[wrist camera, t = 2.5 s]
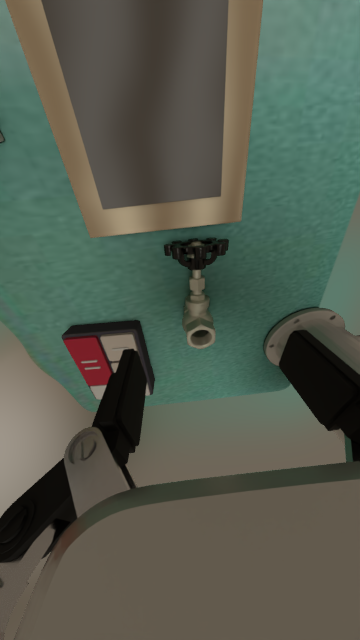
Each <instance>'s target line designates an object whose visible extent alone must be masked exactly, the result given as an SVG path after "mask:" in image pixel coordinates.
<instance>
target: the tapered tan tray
mask: <svg viewBox="0 0 360 640" xmlns="http://www.w3.org/2000/svg"><path fill="white" fill-rule="evenodd" d="M5 1H6V4H7V7H8V10H9V12H10V15H11V18H12V21H13V23H14V26H15V29H16V32H17V35H18V37H19V40H20V43H21V46H22V49H23V51H24V54H25V57H26V60H27V62H28V65H29V68H30V71H31V74H32V76H33V79H34V82H35V85H36V87H37V90H38V93H39V96H40V99H41V101H42V104H43V107H44V110H45V113H46V115H47V118H48V121H49V124H50V126H51V129H52V132H53V135H54V138H55V140H56V143H57V146H58V149H59V151H60V154H61V157H62V160H63V163H64V165H65V168H66V171H67V174H68V177H69V179H70V182H71V185H72V188H73V190H74V193H75V196H76V199H77V202H78V204H79V207H80V210H81V213H82V216H83V218H84V221H85V224H86V227H87V229H88V232H89V235H90V238H94V237H104V236H113V235H122V234H131V233H140V232H149V231H158V230H167V229H176V228H186V227H195V226H204V225H213V224H222V223H231V222H240V221H241V216H242V206H243V196H244V186H245V176H246V166H247V156H248V146H249V136H250V126H251V116H252V106H253V96H254V86H255V76H256V66H257V56H258V46H259V36H260V26H261V16H262V6H263V0H5Z"/></svg>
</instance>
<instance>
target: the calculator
mask: <svg viewBox="0 0 360 640" xmlns="http://www.w3.org/2000/svg"><path fill="white" fill-rule="evenodd" d="M62 339H63V341H64V343H65V345H66V347H67V349H68V351H69V352H70V354H71V356H72V358H73V359H74V361H75V363H76V365H77V367H78V368H79V370H80V372H81V374H82V376H83V377H84V379H85V381H86V383H87V384H88V386H89V387H90V389H91V391H92V393H93V395H94V396H95V398H96V399H102V397H103V394H104V391H105V388H106V386H107V383H108V380H109V377H110V375H111V374H112V373H115V372H116V370H117V367H118V364H119V361H120V358H121V355H122V352H123V350H124V349H134V350H135V351H138V354H139V357H140V360H141V363H142V366H143V369H144V372H145V375H146V378H147V386H146V394H145V395H152V394H153V389H154V381H155V378H154V374H153V370H152V367H151V364H150V360H149V356H148V352H147V347H146V343H145V339H144V335H143V332H142V328H141V324H140V321H138V320H134V321H122V322H110V323H98V324H86V325H75V326H71V327H70V328H69V329H68V330H67V331H66V332H65V333H64V334H63V335H62Z"/></svg>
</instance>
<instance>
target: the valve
mask: <svg viewBox="0 0 360 640" xmlns="http://www.w3.org/2000/svg"><path fill="white" fill-rule="evenodd" d="M228 243H229V240H228V239H219V240H218V241H216V238H207V239H206V240H198V239H197V238H193V239H189V240H188V241H186V242H182V241H173V242H172V244H165V245H164V251H165V255H166V256H171V251H172V257H173V259H178V261H179V263H180V264H181V265H182V266H185V267H188V269H189V270H192V276H190V277H189V283H190V290H192V292H190V295H188V296H187V297H186V298H185V306H184V316H183V319H182V326H183V329H184V331H185V332H186V334H187V343H188V345H190V346H192V347H194V348H198V349H203V348H206V347H208V346H210V345H211V344H213V343H214V342H215V328H214V325H213V317H212V315H211V314H210V312H209V311H208V309H207V308H208V307H209V297H208V296H207V295H205V294H204V292H203V291H202V290H203V289H205V278H204V276H203V275H201V270H202V269H204V268H205V267H206V265H210V264H212V263H213V262H214V261H215V260H216V258H217V256H221V255H225V254H226V251H227V250H228ZM209 252H211V258H210V259H206V253H209ZM184 254H187V261H185V260H184Z"/></svg>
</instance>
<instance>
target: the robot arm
mask: <svg viewBox="0 0 360 640" xmlns="http://www.w3.org/2000/svg"><path fill="white" fill-rule="evenodd" d="M264 352H265V355H266V356H267V358H268V359H269V360H270V362H272V363H273V364H275V365H277V366H279V367H280V369H281V370H282V372H283V373H284V374H285V376H286V377H287V378H288V380H289V381H290V383H291V384H292V385H293V387H294V388H295V389H296V391H297V392H298V393H299V395H300V396H301V398H302V399H303V400H304V402H305V403H306V404H307V406H308V407H309V409H310V410H311V411H312V413H313V414H314V416H315V417H316V418H317V419H318V421H319V422H320V423H321V424H323V425H324V426H325V427H326V429H327V430H328V431H332V430H333V431H334V432H335V433H336V435H337V436H338V437H339V439H340V440H341V441H342V443H343V444H344V445H345V452H346V463H337V464H327V465H318V466H309V467H299V468H291V469H281V470H272V471H264V472H255V473H246V474H237V475H229V476H220V477H211V478H203V479H194V480H185V481H178V482H171V483H163V484H156V485H149V486H145V487H139V488H138V486H137V484H136V482H135V480H134V478H133V476H132V474H131V472H130V470H129V468H128V467H127V464H126V463H127V462H128V457H129V453H134V452H135V446H138V445H139V441H140V433H141V426H142V418H143V410H144V402H145V394H146V386H147V378H146V375H145V372H144V369H143V366H142V363H141V360H140V357H139V354H138V351H135V350H134V349H124V350H123V352H122V355H121V358H120V361H119V364H118V367H117V370H116V372H115V373H112V374H111V375H110V377H109V380H108V383H107V386H106V388H105V391H104V394H103V397H102V399H101V402H100V405H99V408H98V410H97V413H96V416H95V419H94V422H93V425H92V427H88V428H85V429H83V430H82V431H80V432H79V433H78V434H77V435H75V436H74V437H73V439H72V440H71V441H70V443H69V444H68V446H67V449H66V451H65V454H64V458H63V459H62V460H61V461H60V462H58V463H57V464H56V465H55V466H54V467H53V468H52V469H51V470H50V471H49V472H47V473H46V474H45V475H44V476H43V477H42V478H41V479H39V480H38V481H37V482H36V483H35V484H34V485H33V486H32V487H31V488H30V489H28V490H27V491H26V492H25V493H24V494H23V495H22V496H21V497H19V498H18V499H17V500H16V501H15V502H14V503H13V504H12V505H11V506H10V507H9V508H8V509H7V510H6V511H5V512H4V514H3V515H2V516H1V518H0V640H4V634H5V629H6V626H7V623H8V620H9V617H10V614H11V613H12V611H13V609H14V607H15V605H16V603H17V601H18V599H19V598H20V596H21V594H22V593H23V592H24V590H25V588H26V587H27V585H28V584H29V583H28V582H27V580H28V579H29V577H30V576H31V574H32V573H33V571H34V570H35V568H36V566H37V565H38V563H39V562H40V560H41V559H42V558H44V557H46V556H47V555H48V554H49V552H51V553H50V555H49V557H48V559H47V561H46V563H45V565H44V567H43V569H42V572H41V574H40V576H39V578H38V581H37V583H36V585H35V587H34V590H33V592H32V595H31V597H30V600H29V602H28V604H27V607H26V609H25V612H24V615H23V617H22V620H21V622H20V625H19V627H18V630H17V633H16V635H15V638H14V640H360V335H359V336H354V335H353V334H351V333H350V332H348V331H346V330H345V323H344V320H343V318H342V317H341V316H339V315H338V314H337V313H335V312H334V311H332V310H329V309H325V308H310V309H306V310H302V311H299V312H297V313H294V314H292V315H290V316H288V317H287V318H285V319H284V320H282V321H281V322H279V323H278V324H277V325H276V326H275V327H274V328H273V329H272V330H271V332H270V333H269V334H268V336H267V338H266V340H265V343H264Z"/></svg>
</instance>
